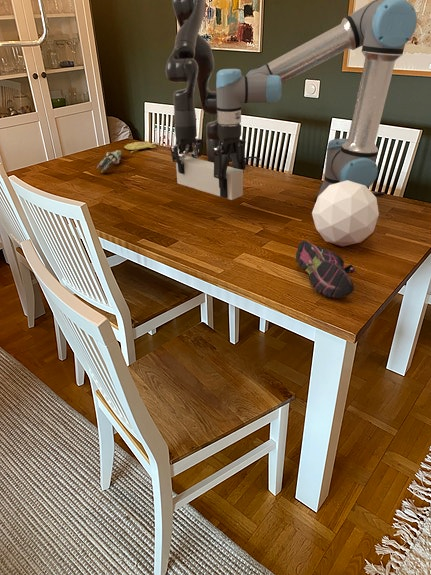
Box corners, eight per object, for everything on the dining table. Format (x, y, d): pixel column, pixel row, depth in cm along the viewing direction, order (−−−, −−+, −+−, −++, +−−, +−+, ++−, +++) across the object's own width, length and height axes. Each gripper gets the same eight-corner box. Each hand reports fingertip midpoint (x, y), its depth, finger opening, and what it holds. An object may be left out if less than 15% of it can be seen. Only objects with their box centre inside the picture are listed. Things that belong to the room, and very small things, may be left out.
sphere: (321, 259, 144) (291, 205, 142) (371, 228, 146) (342, 175, 144) (347, 258, 125) (313, 196, 123) (404, 222, 128) (371, 161, 125)
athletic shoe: (341, 287, 106) (380, 279, 110) (299, 225, 117) (336, 220, 122) (323, 315, 114) (360, 306, 119) (286, 254, 126) (321, 249, 130)
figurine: (101, 154, 197) (119, 141, 223) (91, 167, 200) (110, 152, 227) (114, 165, 199) (130, 151, 225) (103, 178, 203) (121, 162, 229)
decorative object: (138, 138, 251) (166, 140, 241) (139, 142, 252) (166, 144, 242) (113, 146, 236) (141, 149, 226) (113, 151, 237) (142, 154, 228)
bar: (177, 183, 164) (175, 159, 159) (188, 179, 167) (187, 156, 163) (231, 200, 148) (231, 174, 143) (243, 195, 152) (243, 170, 147)
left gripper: (177, 128, 146) (180, 178, 155) (207, 120, 154) (209, 168, 163) (162, 125, 150) (166, 174, 159) (192, 118, 159) (195, 164, 168)
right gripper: (217, 131, 131) (219, 205, 144) (257, 120, 142) (256, 189, 155) (199, 128, 136) (203, 199, 148) (239, 117, 147) (239, 184, 159)
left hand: (188, 171), depth 161 cm, fingers closed on bar, 6 cm apart
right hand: (230, 194), depth 151 cm, fingers closed on bar, 6 cm apart
